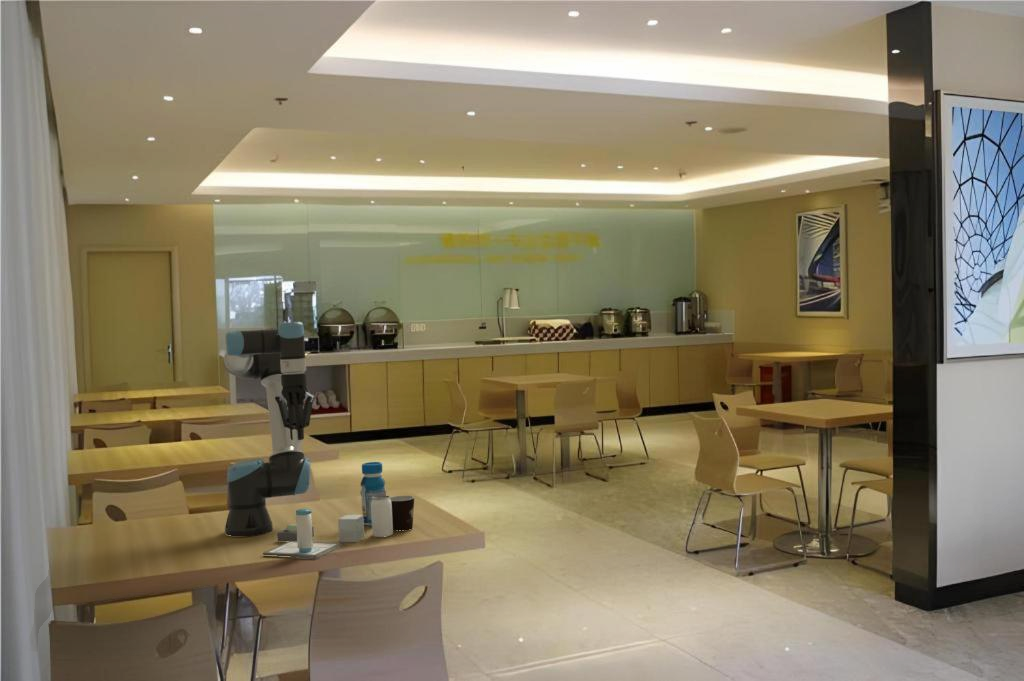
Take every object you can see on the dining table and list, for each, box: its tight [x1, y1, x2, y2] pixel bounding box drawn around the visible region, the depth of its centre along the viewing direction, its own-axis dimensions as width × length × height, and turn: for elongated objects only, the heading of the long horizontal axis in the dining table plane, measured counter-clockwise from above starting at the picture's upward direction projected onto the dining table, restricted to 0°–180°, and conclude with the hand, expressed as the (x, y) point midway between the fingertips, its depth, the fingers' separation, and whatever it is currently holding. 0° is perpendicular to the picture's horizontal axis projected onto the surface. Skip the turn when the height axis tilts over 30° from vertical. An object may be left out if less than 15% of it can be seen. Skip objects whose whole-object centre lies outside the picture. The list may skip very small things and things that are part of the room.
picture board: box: [262, 541, 342, 560], centre depth 274 cm, size 18×14×1 cm
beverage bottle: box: [360, 461, 387, 526], centre depth 307 cm, size 8×8×20 cm
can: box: [371, 495, 394, 538], centre depth 289 cm, size 6×6×12 cm
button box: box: [276, 526, 315, 542], centre depth 290 cm, size 8×8×3 cm
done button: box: [286, 522, 297, 532], centre depth 290 cm, size 5×5×3 cm
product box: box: [337, 514, 365, 543], centre depth 285 cm, size 6×6×7 cm
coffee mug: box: [389, 495, 415, 532], centre depth 298 cm, size 12×9×10 cm
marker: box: [295, 508, 314, 553], centre depth 270 cm, size 4×4×12 cm
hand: (298, 450), depth 279 cm, fingers closed
